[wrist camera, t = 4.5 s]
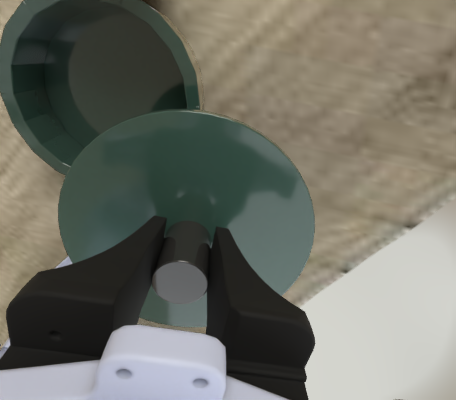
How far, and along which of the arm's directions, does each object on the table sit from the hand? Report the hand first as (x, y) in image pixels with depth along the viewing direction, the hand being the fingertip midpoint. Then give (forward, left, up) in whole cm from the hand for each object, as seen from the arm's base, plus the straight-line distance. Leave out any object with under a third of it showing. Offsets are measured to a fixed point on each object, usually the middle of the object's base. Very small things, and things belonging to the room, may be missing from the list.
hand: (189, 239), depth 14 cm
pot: (0, +8, -10) cm, 13 cm away
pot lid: (0, 0, -1) cm, 1 cm away
